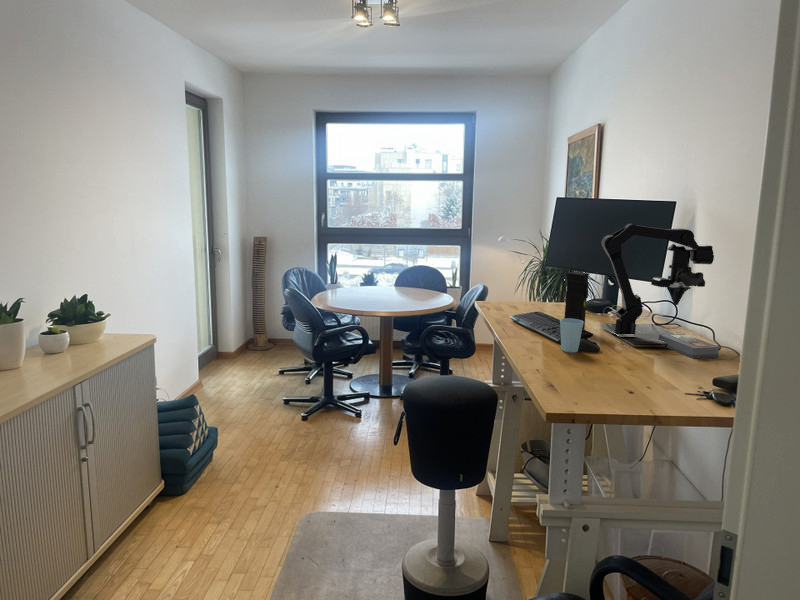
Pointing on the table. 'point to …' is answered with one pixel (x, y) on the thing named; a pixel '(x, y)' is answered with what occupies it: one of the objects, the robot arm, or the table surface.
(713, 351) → the keypad
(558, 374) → the table surface
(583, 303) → the portable radio
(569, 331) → the cup
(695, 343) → the terracotta key
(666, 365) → the table surface
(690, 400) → the table surface
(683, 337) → the cream key
